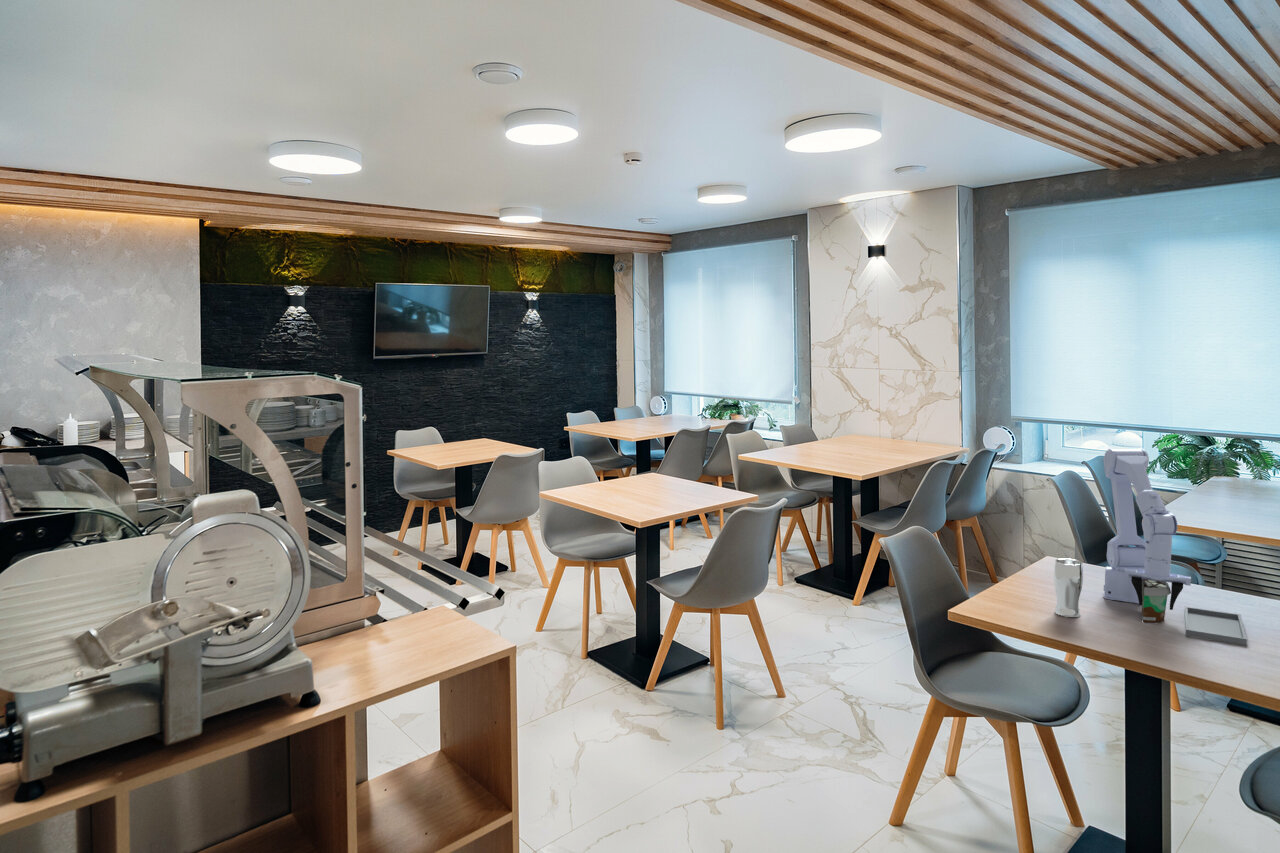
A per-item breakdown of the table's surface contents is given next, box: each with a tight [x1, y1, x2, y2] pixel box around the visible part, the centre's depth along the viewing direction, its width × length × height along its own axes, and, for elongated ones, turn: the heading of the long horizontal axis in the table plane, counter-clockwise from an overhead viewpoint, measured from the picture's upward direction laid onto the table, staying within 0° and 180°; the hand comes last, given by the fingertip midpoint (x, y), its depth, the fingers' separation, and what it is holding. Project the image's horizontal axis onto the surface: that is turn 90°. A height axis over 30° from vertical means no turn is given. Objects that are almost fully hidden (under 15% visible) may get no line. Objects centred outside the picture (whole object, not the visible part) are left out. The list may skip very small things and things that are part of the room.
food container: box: [1140, 579, 1171, 624], centre depth 198 cm, size 12×6×10 cm, turn 147°
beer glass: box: [1053, 558, 1084, 618], centre depth 203 cm, size 7×7×15 cm
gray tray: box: [1184, 606, 1248, 646], centre depth 191 cm, size 12×20×2 cm, turn 144°
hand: (1155, 606), depth 199 cm, fingers closed on food container, 6 cm apart
